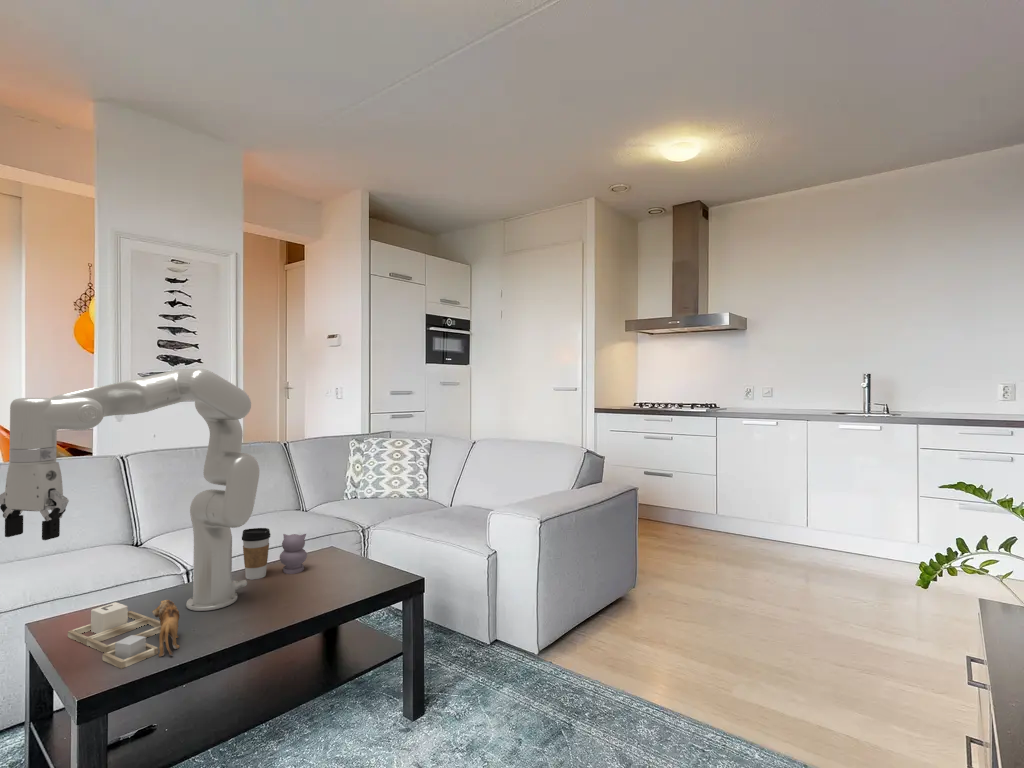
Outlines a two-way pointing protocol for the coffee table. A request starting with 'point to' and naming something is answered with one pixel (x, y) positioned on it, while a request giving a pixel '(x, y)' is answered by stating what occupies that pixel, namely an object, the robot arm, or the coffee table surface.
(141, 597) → the coffee table surface
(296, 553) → the cat figurine
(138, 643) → the grey block
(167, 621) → the lion figurine
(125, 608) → the letter cube
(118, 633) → the middle box
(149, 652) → the small box
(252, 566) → the coffee cup
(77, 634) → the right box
